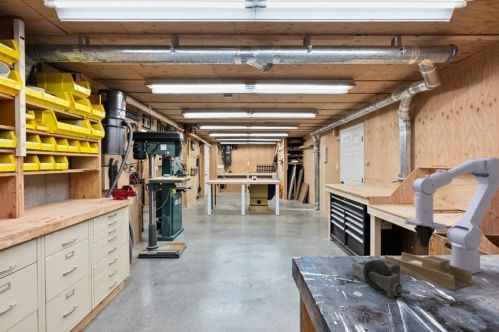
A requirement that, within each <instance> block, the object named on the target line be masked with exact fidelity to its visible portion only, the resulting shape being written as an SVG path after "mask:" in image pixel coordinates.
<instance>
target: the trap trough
mask: <svg viewBox="0 0 499 332" xmlns="http://www.w3.org/2000/svg"><path fill="white" fill-rule="evenodd" d="M400 253H401V257H400V259H399V258H397V257H396V258H395V257H393V256H389V255H384V259H385V260H388V261H391V262H394V263H396V264H399V265H400V274H402V275H406V276H409V277H412V278H414V279H417V280H419V281H423V282H425V283H429V284H432V285H434V286H436V287H439V288H440V287H441V288H443V289H447V290H449V291H451V292H455V291H457V290H460V289H463V288H466V287H469V286H472V285H473V274H472V271H469V270H466V269H462V268H459V267H455V266H452V264H450V272H447V273H442V272H439V271H436V270H432V269H429V268H426V267H423V266H422V258H423V257H422V256H418V255H414V254H411V253H407V252H400Z"/></svg>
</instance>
